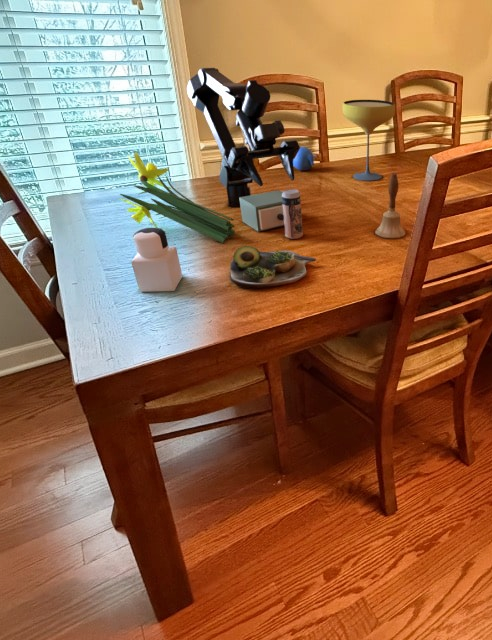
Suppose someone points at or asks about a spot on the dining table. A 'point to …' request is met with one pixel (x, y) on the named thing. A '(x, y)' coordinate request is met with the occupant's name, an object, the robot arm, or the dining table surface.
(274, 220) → the drawer
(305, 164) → the blue mole toy
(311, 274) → the dining table surface
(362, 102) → the cocktail glass
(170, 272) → the pink block figurine
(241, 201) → the drawer box
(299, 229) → the beer can
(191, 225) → the daffodil flowers
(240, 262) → the avocado toast plate
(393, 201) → the hand bell
